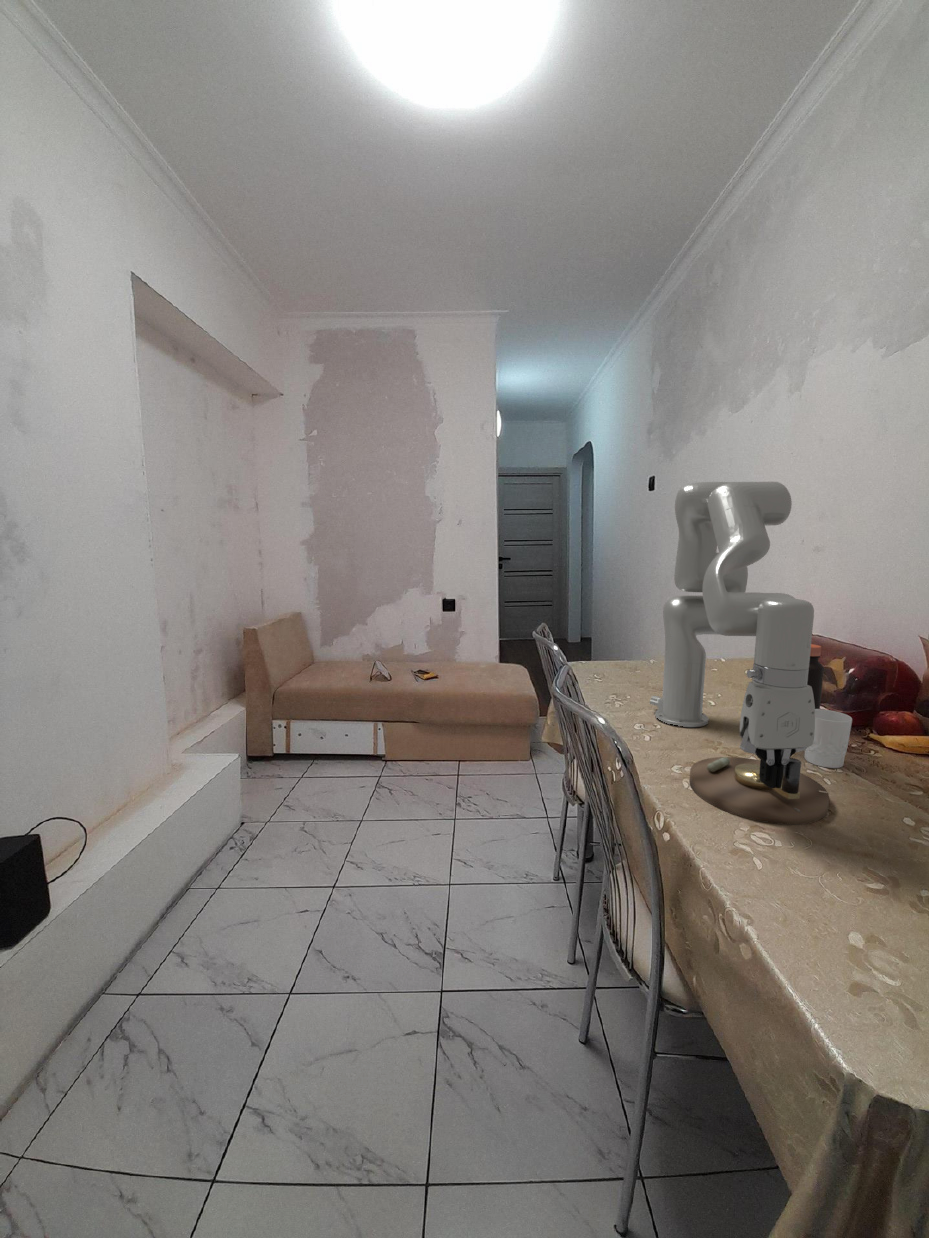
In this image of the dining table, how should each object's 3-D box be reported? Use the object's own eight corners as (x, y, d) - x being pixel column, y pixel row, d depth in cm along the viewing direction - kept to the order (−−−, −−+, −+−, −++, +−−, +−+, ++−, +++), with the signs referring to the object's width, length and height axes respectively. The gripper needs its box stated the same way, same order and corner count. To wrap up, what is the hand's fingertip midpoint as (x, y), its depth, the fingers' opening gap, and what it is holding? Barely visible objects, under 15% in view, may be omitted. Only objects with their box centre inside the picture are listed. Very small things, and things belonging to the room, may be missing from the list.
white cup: (854, 771, 105) (860, 722, 103) (810, 767, 106) (815, 720, 105) (835, 755, 112) (840, 710, 111) (794, 752, 114) (799, 707, 112)
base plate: (665, 786, 98) (666, 767, 98) (726, 757, 111) (727, 741, 111) (794, 839, 81) (796, 817, 80) (848, 797, 94) (851, 778, 93)
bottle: (779, 722, 132) (786, 644, 129) (797, 718, 135) (804, 641, 132) (805, 731, 126) (813, 649, 123) (824, 727, 129) (832, 646, 126)
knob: (726, 772, 99) (729, 736, 98) (760, 770, 100) (763, 734, 99) (774, 806, 86) (778, 764, 85) (813, 803, 87) (817, 762, 86)
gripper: (749, 683, 80) (740, 797, 83) (842, 681, 81) (830, 793, 84) (721, 671, 87) (714, 776, 90) (807, 669, 88) (797, 772, 91)
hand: (770, 784), depth 87 cm, fingers closed
